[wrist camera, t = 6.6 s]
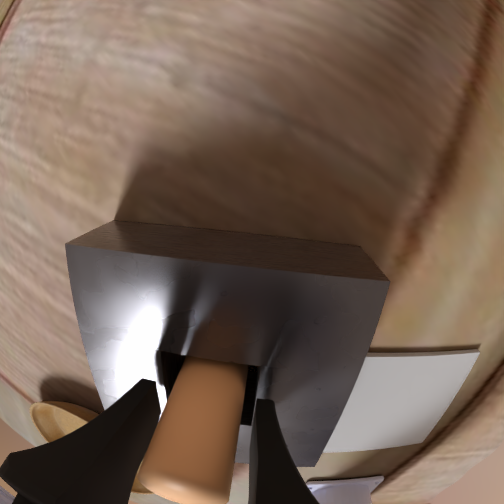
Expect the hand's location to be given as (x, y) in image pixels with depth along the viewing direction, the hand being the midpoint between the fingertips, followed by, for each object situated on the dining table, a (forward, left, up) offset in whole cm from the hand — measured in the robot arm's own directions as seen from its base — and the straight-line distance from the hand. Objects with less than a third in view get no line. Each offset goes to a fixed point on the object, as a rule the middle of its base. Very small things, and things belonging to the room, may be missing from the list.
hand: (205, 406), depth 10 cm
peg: (0, 0, -5) cm, 5 cm away
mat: (-5, -12, -5) cm, 14 cm away
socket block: (0, 0, -5) cm, 5 cm away
